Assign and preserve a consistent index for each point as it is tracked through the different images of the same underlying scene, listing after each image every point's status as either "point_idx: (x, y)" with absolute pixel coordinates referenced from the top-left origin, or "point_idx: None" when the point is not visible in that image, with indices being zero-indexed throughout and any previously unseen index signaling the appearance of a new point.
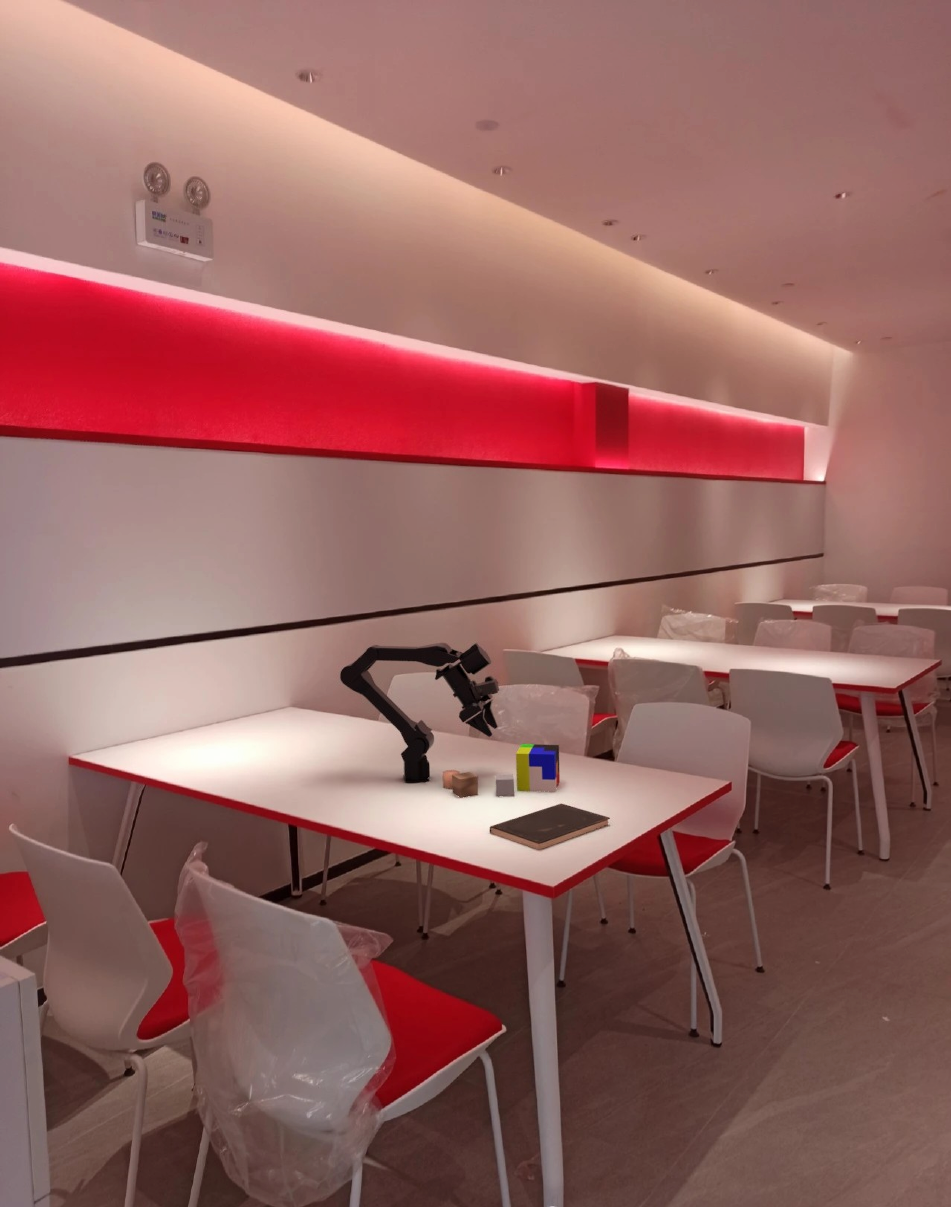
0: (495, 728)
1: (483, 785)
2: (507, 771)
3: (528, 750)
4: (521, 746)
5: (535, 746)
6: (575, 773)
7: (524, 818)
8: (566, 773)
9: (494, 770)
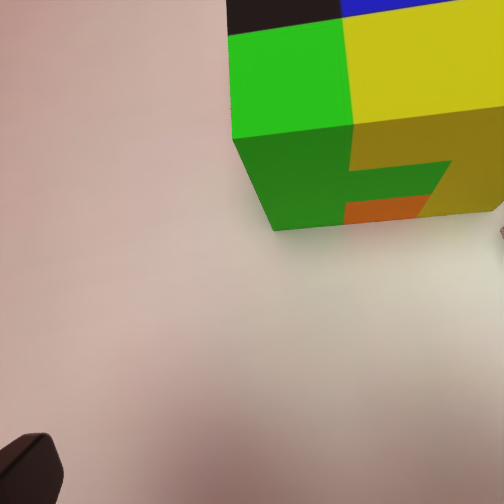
0: (60, 463)
1: (429, 440)
2: (114, 357)
3: (462, 17)
4: (321, 118)
5: (298, 4)
6: (122, 17)
7: None
8: (126, 54)
9: (99, 442)
